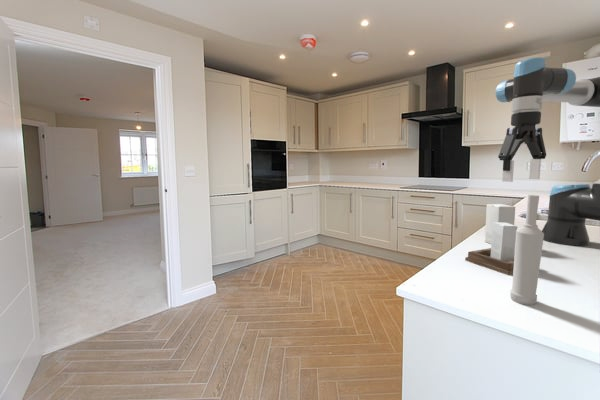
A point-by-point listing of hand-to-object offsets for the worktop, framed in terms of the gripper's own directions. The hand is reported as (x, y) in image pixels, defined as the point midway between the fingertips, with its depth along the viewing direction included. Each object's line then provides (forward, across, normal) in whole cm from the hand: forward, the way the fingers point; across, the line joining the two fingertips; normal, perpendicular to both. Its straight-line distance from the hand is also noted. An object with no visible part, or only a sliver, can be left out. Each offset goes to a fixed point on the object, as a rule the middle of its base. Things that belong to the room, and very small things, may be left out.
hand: (521, 180), depth 99 cm
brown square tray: (+26, -9, -1) cm, 28 cm away
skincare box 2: (+25, -9, -1) cm, 27 cm away
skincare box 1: (+27, +13, +15) cm, 33 cm away
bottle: (+26, -30, -20) cm, 44 cm away
